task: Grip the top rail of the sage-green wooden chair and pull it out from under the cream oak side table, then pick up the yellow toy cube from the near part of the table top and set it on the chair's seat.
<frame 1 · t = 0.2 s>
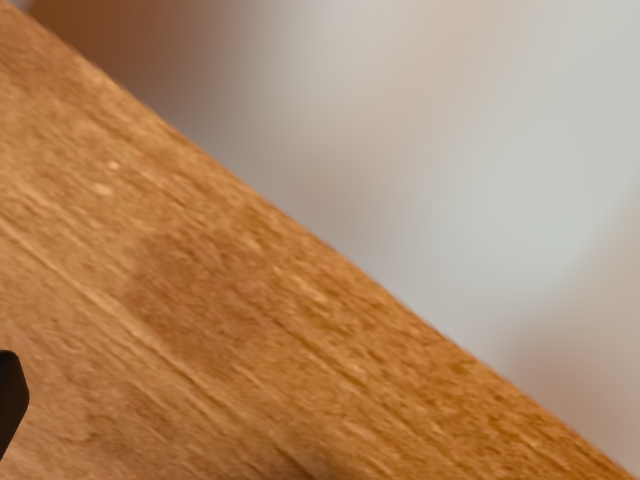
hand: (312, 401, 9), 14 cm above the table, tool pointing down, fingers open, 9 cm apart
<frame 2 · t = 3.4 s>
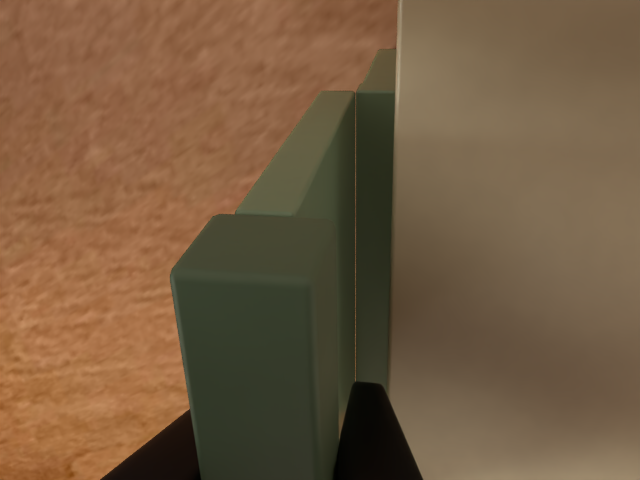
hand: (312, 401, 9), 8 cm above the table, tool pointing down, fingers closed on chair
side table: (570, 193, 15), on the table
chair: (515, 310, 10), point 6 cm above the table, slide at 0.0 cm, touching gripper
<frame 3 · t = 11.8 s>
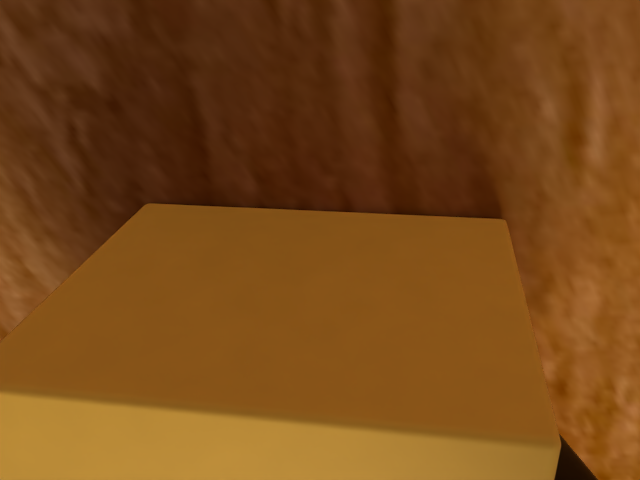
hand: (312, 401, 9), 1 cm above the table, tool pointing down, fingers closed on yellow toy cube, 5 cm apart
yellow toy cube: (322, 356, 9), on the table, touching gripper
when the fingers open (6 cm above the table, at t = 18.0 s): yellow toy cube stays where it is, resting on chair.
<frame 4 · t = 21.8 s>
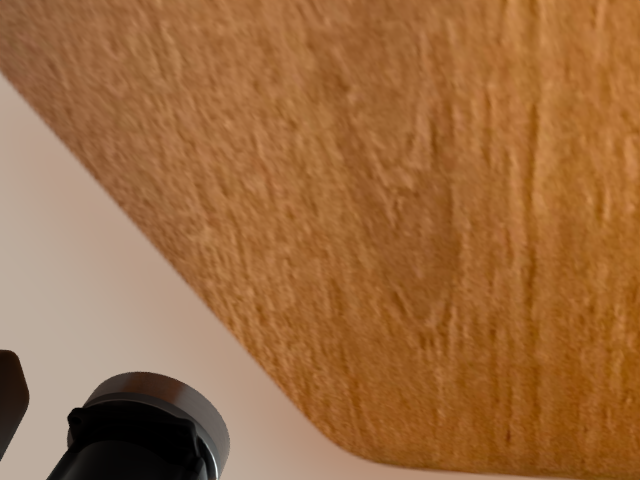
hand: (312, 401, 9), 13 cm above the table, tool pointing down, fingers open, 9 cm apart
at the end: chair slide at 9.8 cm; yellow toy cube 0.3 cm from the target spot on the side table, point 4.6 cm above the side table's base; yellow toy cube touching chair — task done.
